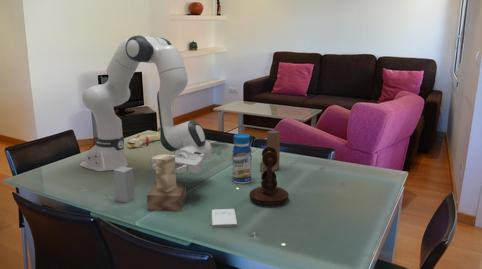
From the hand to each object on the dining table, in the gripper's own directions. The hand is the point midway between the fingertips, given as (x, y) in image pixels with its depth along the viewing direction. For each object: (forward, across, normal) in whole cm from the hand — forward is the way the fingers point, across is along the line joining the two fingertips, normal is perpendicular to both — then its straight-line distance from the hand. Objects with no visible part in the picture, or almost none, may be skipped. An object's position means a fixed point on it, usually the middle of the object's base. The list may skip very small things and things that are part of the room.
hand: (165, 169), depth 155 cm
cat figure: (-67, -59, +14) cm, 91 cm away
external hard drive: (+3, +25, +14) cm, 29 cm away
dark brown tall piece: (-20, +33, +14) cm, 41 cm away
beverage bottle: (-34, +15, +14) cm, 40 cm away
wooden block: (-52, +21, +14) cm, 58 cm away
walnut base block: (0, 0, +14) cm, 14 cm away
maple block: (-1, 0, +8) cm, 8 cm away
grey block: (+3, -17, +14) cm, 22 cm away
